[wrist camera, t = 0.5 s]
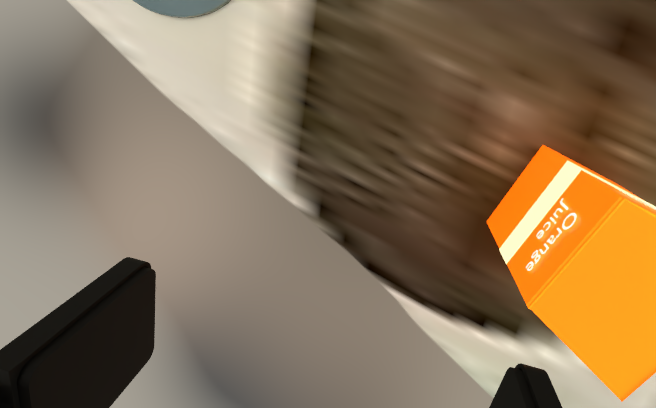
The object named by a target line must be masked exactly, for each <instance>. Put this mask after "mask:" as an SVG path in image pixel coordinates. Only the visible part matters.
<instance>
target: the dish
mask: <svg viewBox="0 0 656 408" xmlns="http://www.w3.org/2000/svg"><path fill="white" fill-rule="evenodd" d="M133 1H135V2H136V3H138V4H139V5H141V6H143V7H145V8H146V9H148V10H150V11H153V12H156V13H159V14H163V15H168V16H173V17H184V18H190V17H199V16H202V15H206V14H209V13H211V12H214V11H216V10H218V9H220V8H221V7H223V6H224V5H226V4H227V3H228V2H230V1H231V0H133Z"/></svg>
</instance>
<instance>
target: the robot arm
mask: <svg viewBox="0 0 656 408" xmlns="http://www.w3.org/2000/svg"><path fill="white" fill-rule="evenodd" d="M155 278H156V274H155V271H154V270H153V269H151V265H150V264H149V263H148V262H145V261H141V260H137V259H134V258H130V257H127V258H125V259H123V260H122V261H120V262H119V263H118V264H116V265H115V266H113V267H112V268H111V269H109V270H108V271H107V272H105V273H104V274H103V275H101V276H100V277H98V278H97V279H96V280H94V281H93V282H92V283H90V284H89V285H88V286H86V287H85V288H84V289H82V290H81V291H80V292H78V293H77V294H76V295H74V296H73V297H71V298H70V299H69V300H67V301H66V302H65V303H63V304H62V305H60V306H59V307H58V308H57V309H55V310H54V311H52V312H51V313H50V314H48V315H47V316H46V317H44V318H43V319H42V320H40V321H39V322H37V323H36V324H35V325H33V326H32V327H31V328H29V329H28V330H27V331H25V332H24V333H23V334H21V335H20V336H18V337H17V338H16V339H14V340H13V341H12V342H11V343H9V344H8V345H6V346H5V347H4V348H2V349H1V350H0V408H109V407H110V406H111V405H112V404H113V403H114V401H115V400H116V399H117V398H118V396H119V395H120V394H121V393H122V392H123V391H124V389H125V388H126V387H127V386H128V385H129V383H130V382H131V381H132V379H134V377H135V376H136V375H137V374H138V372H139V371H140V370H141V369H142V368H143V366H144V365H145V364H146V363H147V362H148V360H149V359H150V357H151V355H152V353H153V349H154V328H155ZM489 408H562V406H561V404H560V401H559V399H558V397H557V395H556V392H555V390H554V388H553V385H552V383H551V381H550V378H549V376H548V374H547V373H546V371H544V370H542V369H539V368H535V367H531V366H528V365H524V364H518V365H517V366H516V367H515V368H512V367H510V368H509V369H508V370H507V371H506V374H505V376H504V378H503V380H502V382H501V384H500V386H499V388H498V391H497V393H496V395H495V397H494V399H493V401H492V403H491V406H490V407H489Z"/></svg>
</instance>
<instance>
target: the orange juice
mask: <svg viewBox="0 0 656 408" xmlns="http://www.w3.org/2000/svg"><path fill="white" fill-rule="evenodd" d="M487 224H488V226H489V228H490V230H491V232H492V234H493V236H494V238H495V241H496V243H497V245H498V247H499V250H500V252H501V255H502V257H503V259H504V261H505V263H506V264H507V265H508V267H509V269H510V272H511V274H512V276H513V278H514V280H515V282H516V284H517V286H518V288H519V290H520V292H521V294H522V296H523V298H524V300H525V303H526V305H527V307H528V308H529V309H531V310H532V311H533V312H534V313H535V314H536V315H537V316H538V317H539V318H540V319H541V320H542V321H543V322H544V323H545V324H546V325H547V326H548V327H549V328H550V329H551V330H552V331H553V332H554V333H555V334H556V335H557V336H558V337H559V338H560V339H561V340H562V341H563V342H564V343H565V344H566V345H567V346H568V347H569V348H570V349H571V350H572V351H573V352H574V353H575V354H576V355H577V356H578V357H579V358H580V359H581V360H582V361H583V362H584V363H585V364H586V365H587V366H588V367H589V368H590V370H591V371H592V372H593V373H594V374H595V375H596V376H597V377H598V378H599V379H600V380H601V381H602V382H603V383H604V384H605V385H606V386H607V387H608V388H609V389H610V390H611V391H612V392H613V393H614V394H615V395H616V396H617V397H618V398H619V399H620V400H621V401H623V400H624V399H626V398H627V397H628V396H629V395H630V394H631V393H632V392H634V391H635V390H636V389H637V388H638V387H639V386H641V385H642V384H643V383H644V382H645V381H646V380H647V379H649V378H650V377H651V376H652V375H653V374H654V373H655V372H656V207H655V206H653V205H651V204H649V203H648V202H646V201H644V200H643V199H641V198H639V197H638V196H636V195H634V194H633V193H631V192H629V191H628V190H626V189H625V188H623V187H621V186H620V185H618V184H616V183H615V182H613V181H611V180H609V179H607V178H605V177H603V176H601V175H599V174H598V173H596V172H594V171H592V170H590V169H588V168H586V167H584V166H582V165H581V164H579V163H577V162H575V161H573V160H571V159H569V158H567V157H565V156H563V155H562V154H560V153H558V152H556V151H554V150H552V149H550V148H548V147H546V146H545V145H542V146H541V148H540V149H539V150H538V152H537V153H536V155H535V156H534V157H533V159H532V160H531V161H530V163H529V164H528V165H527V167H526V168H525V170H524V171H523V172H522V174H521V175H520V176H519V178H518V179H517V181H516V182H515V183H514V185H513V186H512V187H511V189H510V190H509V191H508V193H507V194H506V196H505V197H504V198H503V200H502V201H501V202H500V204H499V205H498V206H497V208H496V209H495V211H494V212H493V213H492V215H491V216H490V217H489V219H488V220H487Z"/></svg>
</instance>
